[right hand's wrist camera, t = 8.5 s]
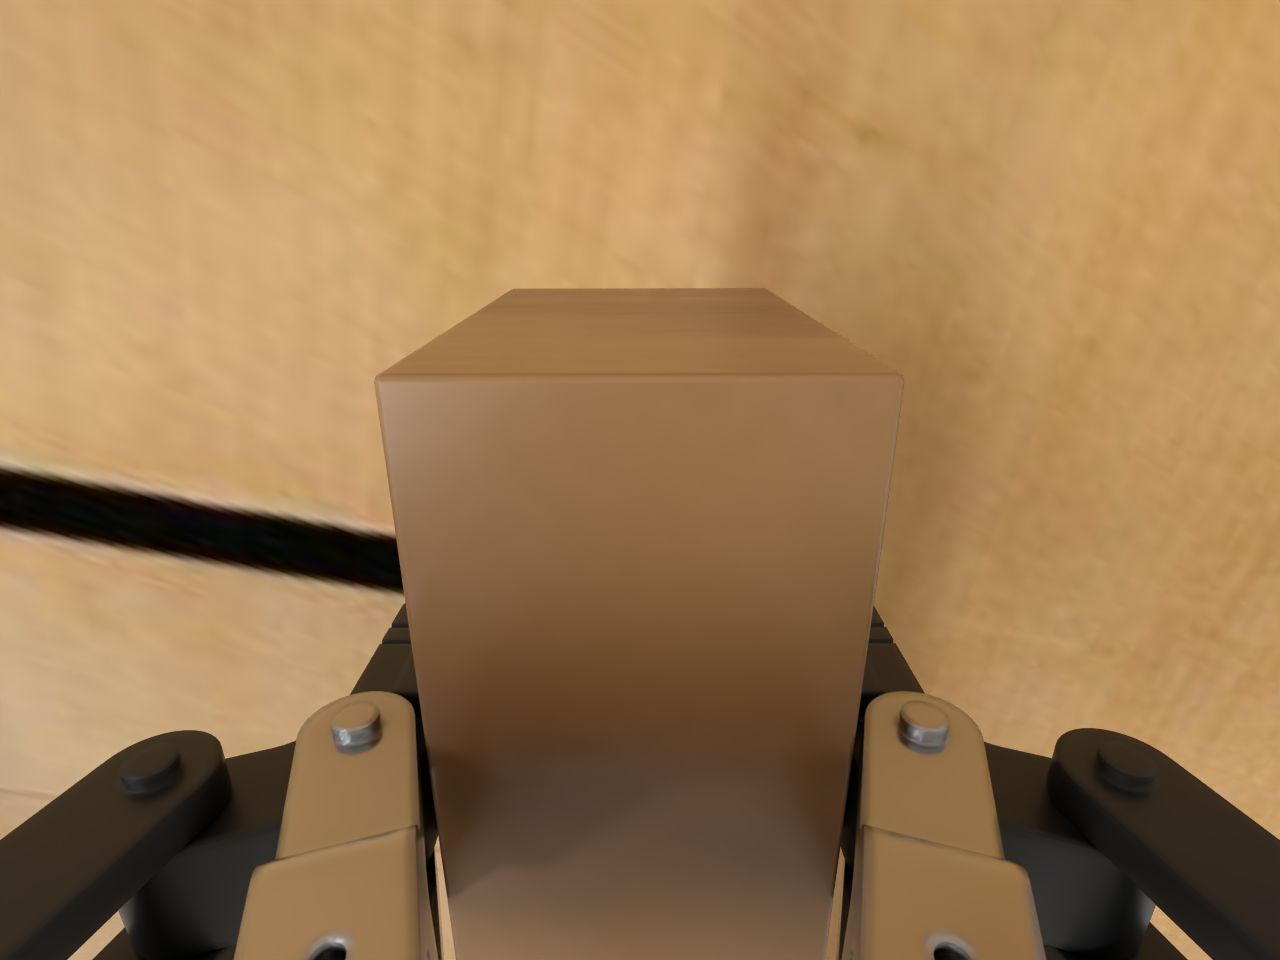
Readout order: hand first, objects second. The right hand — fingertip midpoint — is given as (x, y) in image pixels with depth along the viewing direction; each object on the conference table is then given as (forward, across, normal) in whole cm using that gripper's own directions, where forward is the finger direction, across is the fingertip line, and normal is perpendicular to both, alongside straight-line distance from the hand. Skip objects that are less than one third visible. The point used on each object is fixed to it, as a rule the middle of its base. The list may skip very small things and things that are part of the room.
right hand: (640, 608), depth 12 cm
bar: (+2, 0, -27) cm, 27 cm away
